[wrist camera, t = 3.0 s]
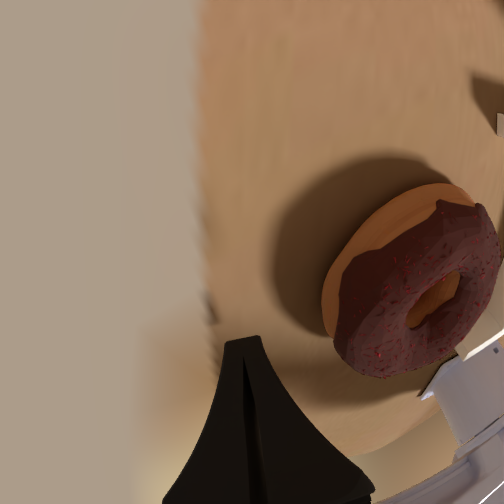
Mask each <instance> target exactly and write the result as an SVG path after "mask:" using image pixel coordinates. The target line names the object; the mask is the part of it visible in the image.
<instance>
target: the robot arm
mask: <svg viewBox="0 0 504 504" xmlns="http://www.w3.org/2000/svg"><path fill="white" fill-rule="evenodd" d="M433 394H434V396H435V398H436V400H437V402H438V404H439V406H440V408H441V410H442V412H443V414H444V416H445V418H446V420H447V422H448V424H449V426H450V428H451V430H452V432H453V435H454V437H455V439H456V441H457V443H458V446H460V445H462V444H463V443H465V442H466V441H468V440H469V439H471V438H472V437H473V436H475V437H474V438H473V439H471V440H470V441H468V442H467V443H466V444H464V445H463V446H461V447H460V448H458V449H457V450H455V453H456V454H455V455H454V458H453V462H452V464H451V465H450V466H448V467H447V468H445V469H443V470H442V471H440V472H438V473H437V474H435V475H433V476H432V477H430V478H428V479H426V480H424V481H422V482H420V483H419V484H416V485H415V486H413V487H411V488H409V489H406V490H404V491H403V492H400V493H398V494H396V495H394V496H391V497H389V498H387V499H384V500H382V501H379V502H377V503H374V504H504V414H503V413H504V349H503V347H502V346H501V344H500V343H499V342H498V340H497V339H496V340H495V341H494V342H492V343H491V344H489V345H488V346H486V347H485V348H484V349H482V350H481V351H479V352H478V353H476V354H474V355H473V356H471V357H470V358H468V359H467V360H465V361H462V359H461V358H460V356H459V355H458V356H457V357H455V358H453V359H451V360H450V361H448V362H446V363H444V364H443V365H442V366H441V367H440V369H439V370H438V372H437V373H436V375H435V376H434V378H433V379H432V381H431V382H430V384H429V385H428V387H427V388H426V390H425V391H424V393H423V394H422V395H421V397H420V399H421V400H424V399H426V398H428V397H430V396H431V395H433ZM502 414H503V415H502ZM500 415H502V416H501V417H500V418H499V416H500ZM374 491H375V487H374V485H373V483H372V482H371V480H370V479H369V478H368V477H367V476H366V475H365V474H364V473H363V471H362V470H361V469H360V468H359V467H358V466H356V465H355V464H354V463H353V462H351V461H350V460H349V459H348V458H347V457H345V456H344V455H343V454H342V453H341V452H340V451H339V450H338V449H336V448H335V447H334V446H333V445H332V444H331V443H330V442H329V441H328V440H327V439H326V438H325V437H324V436H323V435H322V434H321V433H320V432H319V431H318V430H317V429H316V427H315V426H314V425H313V424H312V423H311V422H310V421H309V419H308V418H307V417H306V416H305V415H304V413H303V412H302V411H301V410H300V408H299V407H298V406H297V404H296V403H295V402H294V400H293V399H292V398H291V396H290V395H289V393H288V392H287V390H286V389H285V387H284V386H283V384H282V383H281V381H280V379H279V378H278V376H277V374H276V373H275V371H274V369H273V367H272V365H271V363H270V361H269V359H268V357H267V355H266V353H265V350H264V348H263V344H262V341H261V337H260V336H258V335H255V336H251V337H246V338H241V339H236V340H232V341H227V342H226V343H225V346H224V355H223V361H222V367H221V372H220V376H219V380H218V384H217V389H216V392H215V396H214V399H213V402H212V405H211V409H210V412H209V415H208V418H207V420H206V423H205V426H204V428H203V430H202V433H201V435H200V437H199V440H198V442H197V444H196V446H195V448H194V450H193V452H192V454H191V456H190V458H189V460H188V462H187V463H186V465H185V467H184V468H183V470H182V472H181V474H180V475H179V477H178V478H177V480H176V481H175V483H174V484H173V485H172V487H171V488H170V490H169V491H168V493H167V494H166V495H165V497H164V498H163V500H162V504H371V502H370V501H371V497H370V494H371V493H373V492H374Z"/></svg>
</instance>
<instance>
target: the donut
mask: <svg viewBox="0 0 504 504" xmlns="http://www.w3.org/2000/svg"><path fill="white" fill-rule="evenodd" d="M499 242H500V241H499V238H498V236H497V233H496V231H495V228H494V226H493V223H492V221H491V218H490V217H489V216H488V214H487V211H486V209H485V207H484V206H483V205H482V204H479V203H476V204H475V203H474V202H473V200H472V199H471V197H470V196H469V195H468V194H467V193H466V192H465V191H464V190H463V189H461V188H459V187H457V186H455V185H452V184H445V183H434V184H428V185H422V186H419V187H417V188H414V189H411V190H409V191H406V192H404V193H403V194H401V195H399V196H397V197H395V198H393V199H392V200H390V201H389V202H388V203H386V204H385V205H384V206H382V207H381V208H379V209H378V210H377V211H375V212H374V213H373V214H372V215H371V216H370V217H369V218H368V219H367V220H366V221H365V222H364V223H363V224H362V225H361V226H360V228H359V229H358V230H357V231H356V233H355V234H354V235H353V236H352V238H351V239H350V240H349V242H348V243H347V245H346V246H345V247H344V249H343V250H342V251H341V253H340V254H339V256H338V257H337V258H336V260H335V261H334V263H333V264H332V266H331V268H330V269H329V271H328V274H327V276H326V279H325V281H324V285H323V291H322V300H321V306H322V314H323V323H324V326H325V328H326V331H327V333H328V335H329V336H331V337H332V338H333V339H334V340H333V342H334V348H335V349H336V351H337V353H338V354H339V355H340V356H341V358H342V359H343V360H344V361H345V362H346V363H347V364H348V365H350V366H351V367H352V368H353V369H354V370H356V371H358V372H360V373H361V374H362V373H363V375H365V374H366V375H368V376H374V377H380V378H381V377H383V378H384V379H386V377H388V376H389V377H390V376H391V375H395V374H399V373H406V371H410V370H415V369H417V368H420V367H422V366H426V365H428V364H431V363H433V362H435V361H436V360H438V359H439V360H440V359H441V358H442V357H444V356H446V355H447V354H448V353H449V352H450V351H451V350H453V349H454V348H455V347H456V346H457V345H458V344H459V343H460V342H461V341H462V340H464V338H465V337H466V335H467V334H468V333H469V331H470V330H471V329H472V327H473V326H474V324H475V323H476V321H477V320H478V318H479V317H480V315H481V314H482V312H484V309H486V307H487V305H488V303H489V301H490V299H491V296H492V294H493V291H494V286H495V284H496V279H497V278H498V277H497V275H498V272H499V267H500V260H501V253H500V252H501V250H500V245H499Z"/></svg>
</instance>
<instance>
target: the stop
mask: <svg viewBox="0 0 504 504" xmlns="http://www.w3.org/2000/svg"><path fill="white" fill-rule="evenodd" d="M497 135H498V136H500V137H503V138H504V114H500V113H497ZM497 277H498V278H497V279H496V284H495V286H494V291H493V294H492V296H491V299H490V301H489V303H488V305H487V307H486V309H484V312H482V314H481V315H480V317H479V318H478V320H477V321H476V323H475V324H474V326H473V327H472V329H471V330H470V331H469V333H468V334H467V335H466V337H465V338H464V340H462V341H461V342H460V343H459V344H458V345H457V346H456V347H455V348H454V349H455V350H456V352H457V353H458V355H459V356H460V358H461V359H462V361H465V360H467V359H468V358H470V357H471V356H473V355H474V354H476V353H478V352H479V351H481V350H482V349H484V348H485V347H486V346H488V345H489V344H491V343H492V342H494V341H495V340H496V339H498V338H499V337H501V336H502V335H503V334H504V258H503V261H502V264H501V267H500V269H499V272H498V275H497Z"/></svg>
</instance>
